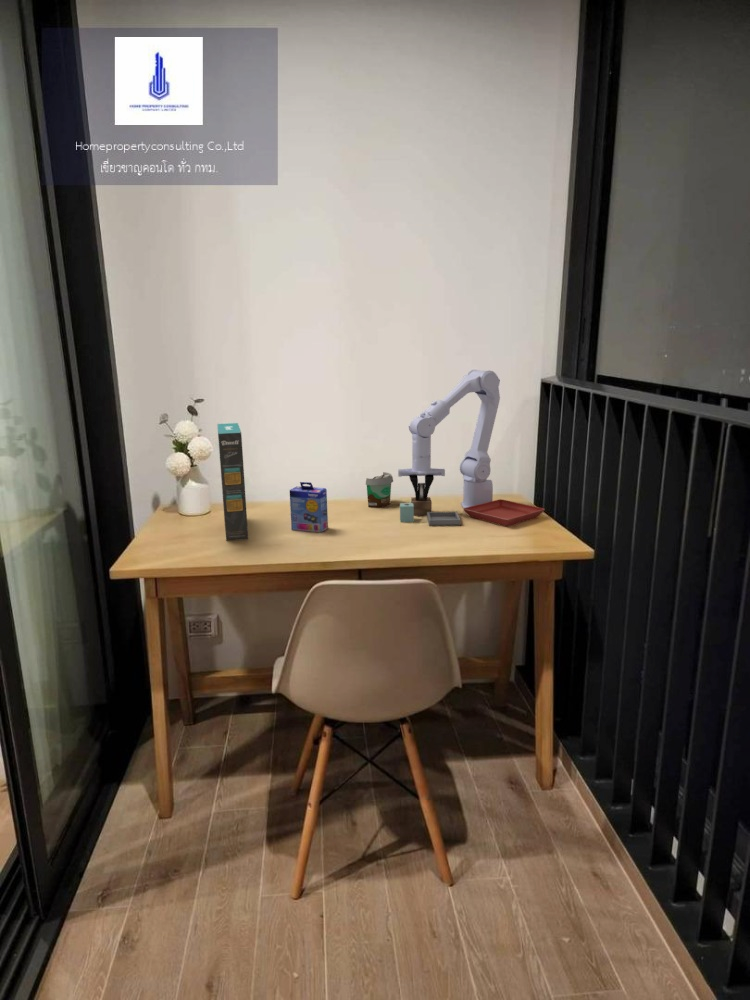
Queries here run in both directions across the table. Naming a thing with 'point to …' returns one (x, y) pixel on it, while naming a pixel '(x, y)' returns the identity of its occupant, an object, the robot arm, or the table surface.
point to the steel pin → (421, 491)
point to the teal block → (406, 512)
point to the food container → (379, 490)
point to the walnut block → (421, 506)
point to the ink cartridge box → (308, 508)
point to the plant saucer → (503, 512)
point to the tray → (443, 519)
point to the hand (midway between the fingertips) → (421, 498)
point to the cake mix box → (232, 481)
